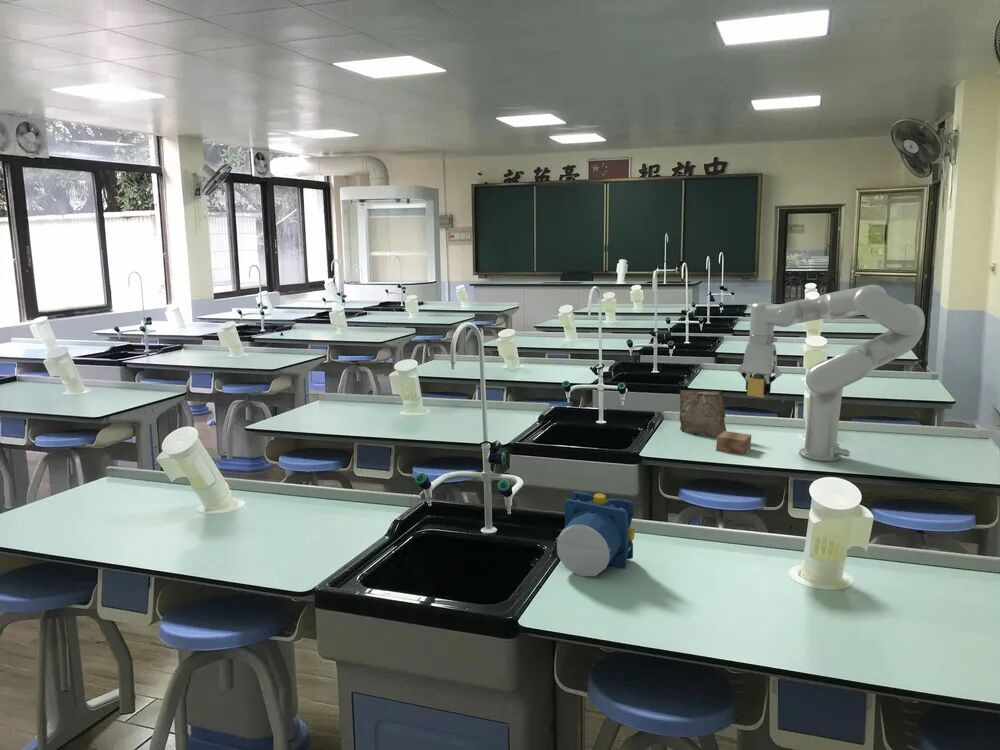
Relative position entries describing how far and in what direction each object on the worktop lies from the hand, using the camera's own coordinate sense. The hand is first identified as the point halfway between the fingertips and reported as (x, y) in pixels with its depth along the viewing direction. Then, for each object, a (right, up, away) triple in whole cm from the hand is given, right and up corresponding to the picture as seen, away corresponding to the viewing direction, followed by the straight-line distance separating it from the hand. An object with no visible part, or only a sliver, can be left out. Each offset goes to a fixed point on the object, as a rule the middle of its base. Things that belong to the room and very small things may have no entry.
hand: (757, 393), depth 267 cm
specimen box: (-9, -19, -1) cm, 21 cm away
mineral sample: (-15, -15, +18) cm, 28 cm away
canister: (0, -1, 0) cm, 1 cm away
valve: (-66, -36, -94) cm, 120 cm away
